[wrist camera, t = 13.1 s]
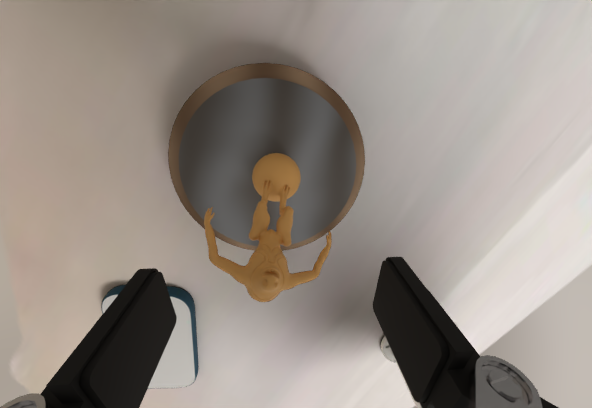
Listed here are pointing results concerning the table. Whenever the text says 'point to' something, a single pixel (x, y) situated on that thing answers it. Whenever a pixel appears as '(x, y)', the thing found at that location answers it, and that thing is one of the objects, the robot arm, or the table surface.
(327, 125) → the walnut stand
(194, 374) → the external hard drive
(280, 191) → the figurine
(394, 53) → the table surface
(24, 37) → the table surface
